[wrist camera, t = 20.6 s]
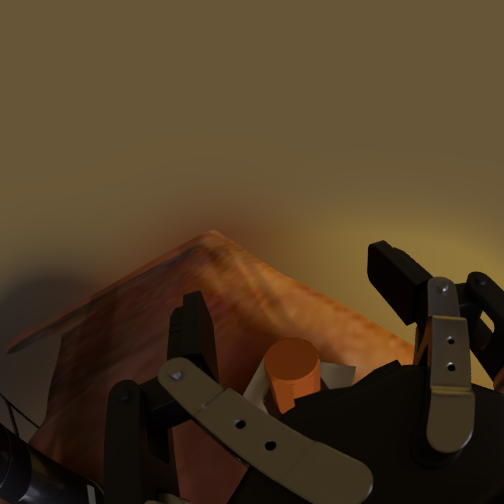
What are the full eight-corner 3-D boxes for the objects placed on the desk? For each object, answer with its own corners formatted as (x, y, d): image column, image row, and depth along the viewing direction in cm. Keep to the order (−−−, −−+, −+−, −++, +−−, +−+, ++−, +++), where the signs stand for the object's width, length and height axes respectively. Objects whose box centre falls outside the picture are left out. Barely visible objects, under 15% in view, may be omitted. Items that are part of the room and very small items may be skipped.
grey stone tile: (230, 433, 29) (224, 426, 28) (269, 360, 39) (266, 350, 37) (328, 461, 23) (329, 456, 22) (354, 376, 33) (356, 366, 32)
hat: (254, 416, 29) (237, 380, 24) (279, 367, 34) (269, 323, 30) (318, 433, 25) (317, 400, 20) (337, 379, 31) (339, 334, 26)
